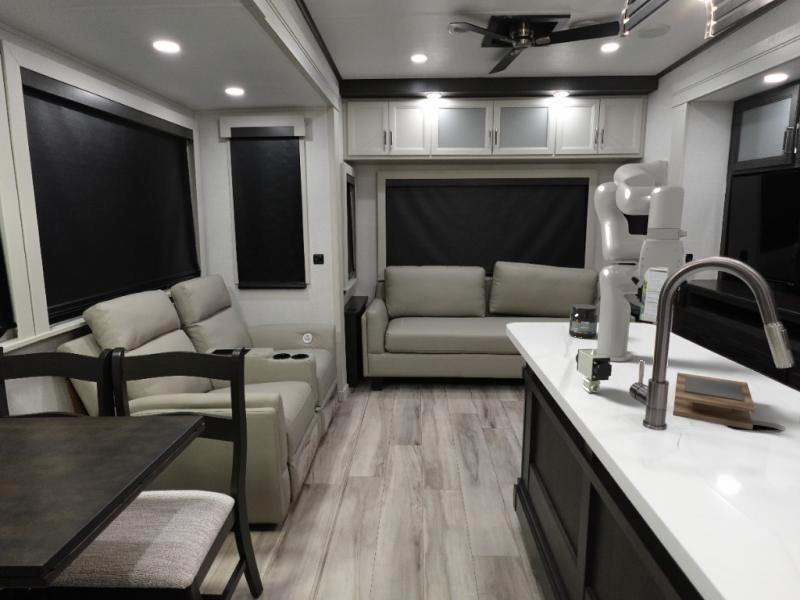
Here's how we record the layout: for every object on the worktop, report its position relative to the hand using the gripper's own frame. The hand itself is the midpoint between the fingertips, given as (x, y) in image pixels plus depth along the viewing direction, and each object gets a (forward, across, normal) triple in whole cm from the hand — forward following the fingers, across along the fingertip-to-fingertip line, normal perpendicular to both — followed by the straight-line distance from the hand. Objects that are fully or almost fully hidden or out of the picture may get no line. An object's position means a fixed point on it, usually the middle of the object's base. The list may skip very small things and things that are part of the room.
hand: (656, 302), depth 128 cm
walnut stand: (+26, -14, +2) cm, 29 cm away
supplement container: (+26, +28, -56) cm, 68 cm away
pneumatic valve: (+26, +14, +5) cm, 30 cm away
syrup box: (+5, 0, 0) cm, 5 cm away
